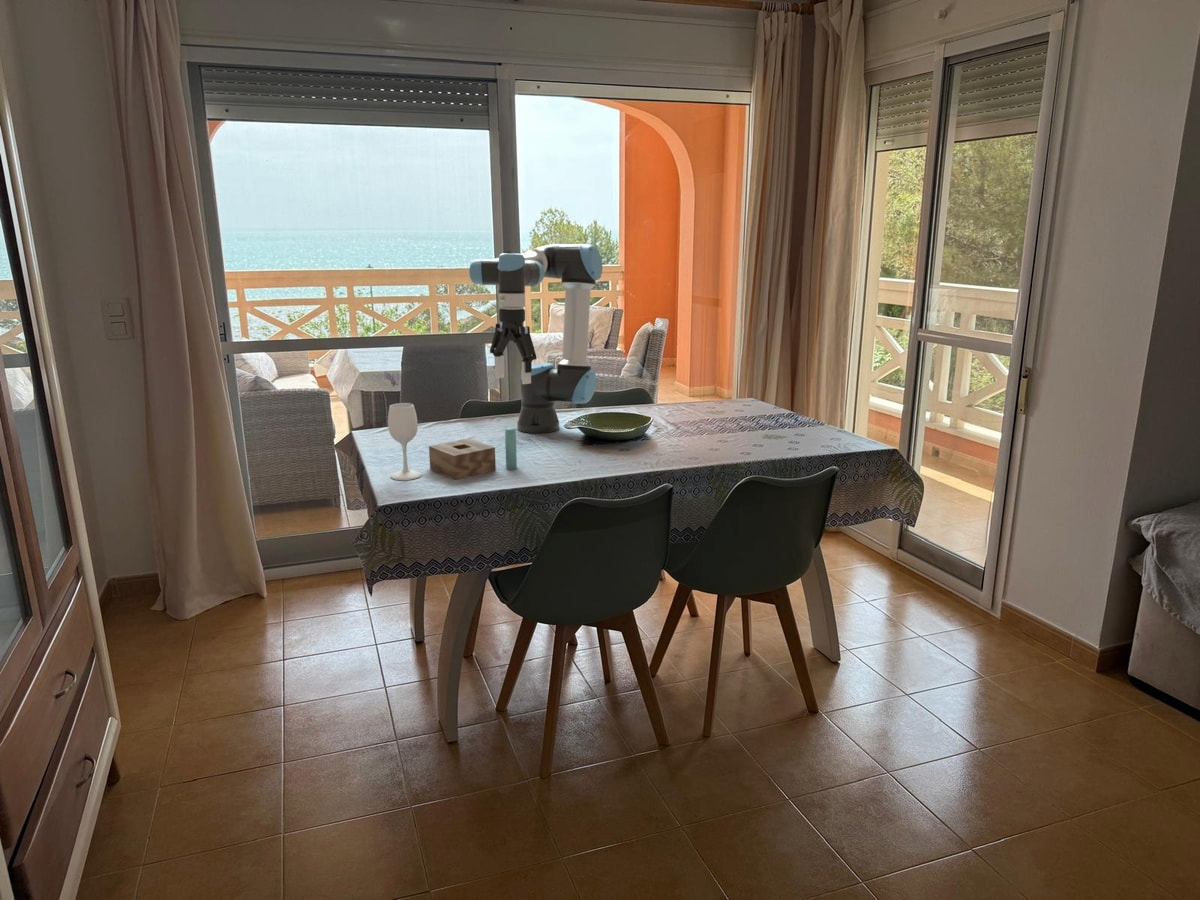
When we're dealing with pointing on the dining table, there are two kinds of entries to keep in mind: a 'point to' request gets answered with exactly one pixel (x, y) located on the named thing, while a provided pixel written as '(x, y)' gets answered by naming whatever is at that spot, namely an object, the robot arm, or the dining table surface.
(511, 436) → the dowel
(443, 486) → the dining table surface
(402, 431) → the wineglass
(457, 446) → the socket block
